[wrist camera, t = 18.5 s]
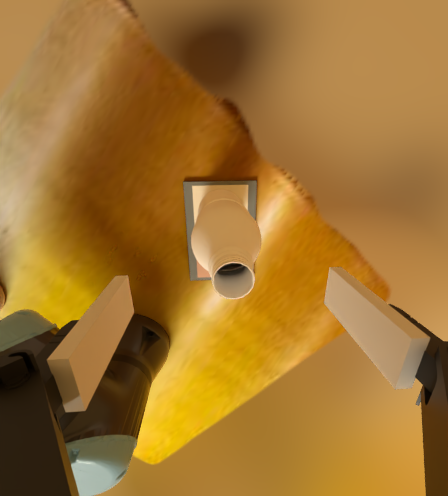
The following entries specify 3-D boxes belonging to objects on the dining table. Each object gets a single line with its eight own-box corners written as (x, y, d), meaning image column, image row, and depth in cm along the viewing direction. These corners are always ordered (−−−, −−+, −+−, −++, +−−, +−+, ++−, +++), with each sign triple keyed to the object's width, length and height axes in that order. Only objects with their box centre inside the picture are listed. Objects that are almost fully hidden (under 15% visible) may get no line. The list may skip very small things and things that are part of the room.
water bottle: (242, 227, 41) (283, 319, 17) (201, 230, 40) (187, 327, 17) (240, 185, 38) (287, 226, 15) (196, 188, 38) (174, 235, 15)
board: (190, 278, 45) (190, 280, 44) (183, 181, 38) (183, 182, 37) (252, 276, 45) (253, 278, 44) (255, 180, 39) (256, 180, 38)
